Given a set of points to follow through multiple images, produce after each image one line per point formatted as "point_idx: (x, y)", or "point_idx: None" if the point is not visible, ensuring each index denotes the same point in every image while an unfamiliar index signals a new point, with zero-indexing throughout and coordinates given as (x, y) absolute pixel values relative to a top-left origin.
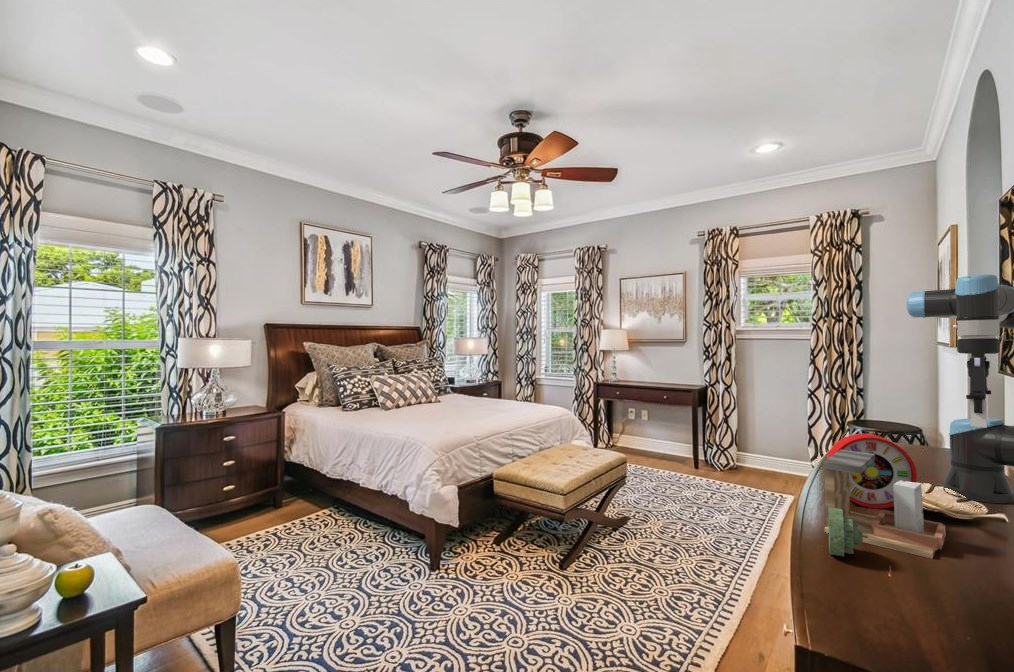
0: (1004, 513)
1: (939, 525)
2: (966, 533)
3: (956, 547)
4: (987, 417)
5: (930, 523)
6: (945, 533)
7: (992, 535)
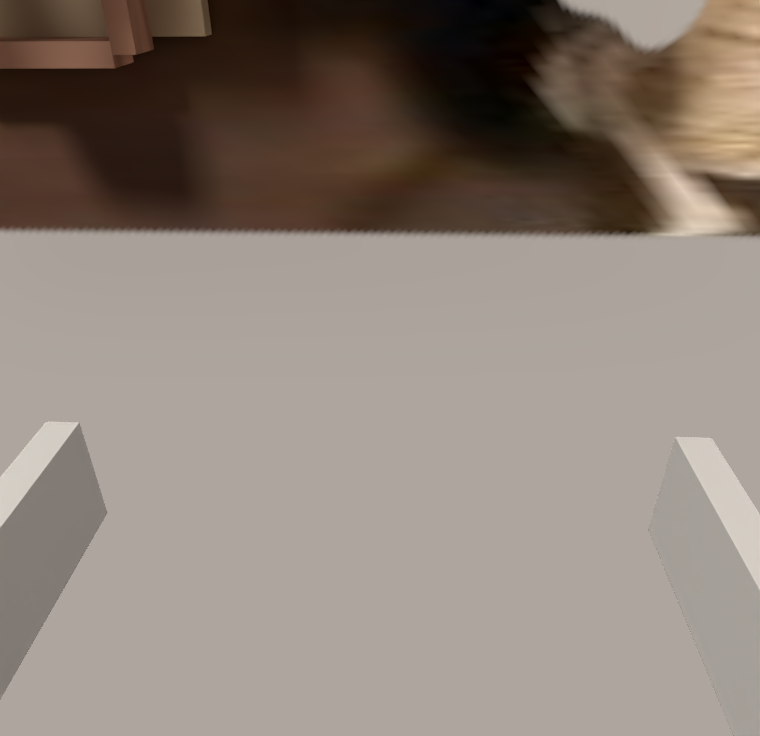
0: (746, 233)
1: (90, 46)
2: (321, 120)
3: (103, 98)
4: (660, 549)
5: (104, 7)
6: (127, 63)
7: (369, 198)
